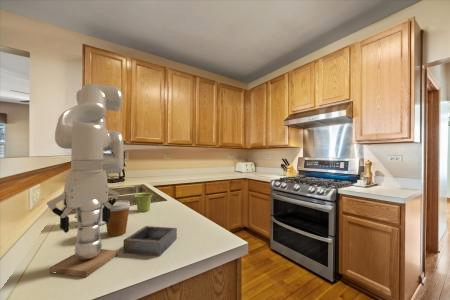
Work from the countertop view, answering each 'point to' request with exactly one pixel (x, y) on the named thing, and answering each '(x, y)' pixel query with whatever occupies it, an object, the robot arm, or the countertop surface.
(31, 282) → the countertop surface
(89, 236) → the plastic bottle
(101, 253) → the walnut coaster
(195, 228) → the countertop surface
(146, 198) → the plant pot
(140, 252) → the tray
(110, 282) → the countertop surface
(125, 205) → the disposable coffee cup
